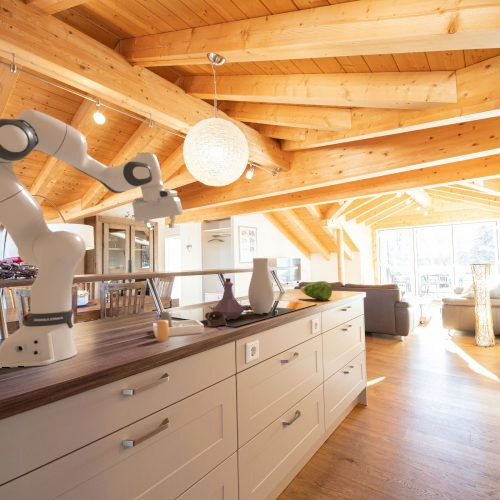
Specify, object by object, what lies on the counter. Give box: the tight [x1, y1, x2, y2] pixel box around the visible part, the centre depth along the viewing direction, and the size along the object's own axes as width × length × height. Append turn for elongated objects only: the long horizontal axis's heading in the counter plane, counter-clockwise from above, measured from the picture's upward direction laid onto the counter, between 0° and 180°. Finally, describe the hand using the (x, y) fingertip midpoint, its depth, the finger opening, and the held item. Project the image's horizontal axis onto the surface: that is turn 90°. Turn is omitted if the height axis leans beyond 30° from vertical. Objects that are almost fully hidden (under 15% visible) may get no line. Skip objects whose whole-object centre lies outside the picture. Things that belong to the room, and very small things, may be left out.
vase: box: [247, 257, 275, 315], centre depth 176 cm, size 14×14×30 cm
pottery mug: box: [204, 310, 227, 328], centre depth 143 cm, size 12×10×8 cm
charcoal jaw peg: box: [160, 310, 172, 327], centre depth 128 cm, size 4×4×8 cm
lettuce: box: [300, 280, 333, 301], centre depth 233 cm, size 14×23×13 cm, turn 48°
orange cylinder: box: [156, 319, 170, 343], centre depth 116 cm, size 4×4×8 cm
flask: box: [212, 277, 246, 321], centre depth 164 cm, size 16×16×20 cm
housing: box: [152, 319, 205, 338], centre depth 129 cm, size 18×13×4 cm
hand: (161, 229), depth 131 cm, fingers open, 8 cm apart
